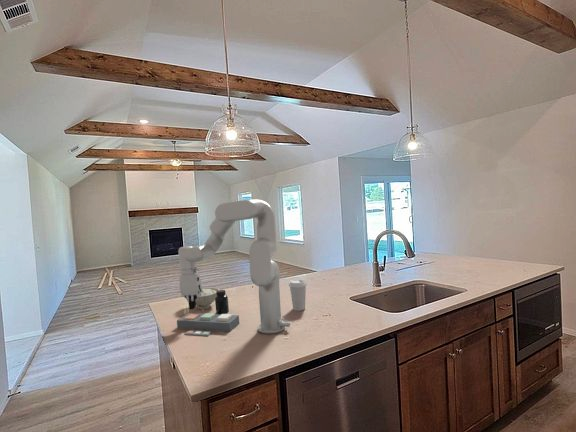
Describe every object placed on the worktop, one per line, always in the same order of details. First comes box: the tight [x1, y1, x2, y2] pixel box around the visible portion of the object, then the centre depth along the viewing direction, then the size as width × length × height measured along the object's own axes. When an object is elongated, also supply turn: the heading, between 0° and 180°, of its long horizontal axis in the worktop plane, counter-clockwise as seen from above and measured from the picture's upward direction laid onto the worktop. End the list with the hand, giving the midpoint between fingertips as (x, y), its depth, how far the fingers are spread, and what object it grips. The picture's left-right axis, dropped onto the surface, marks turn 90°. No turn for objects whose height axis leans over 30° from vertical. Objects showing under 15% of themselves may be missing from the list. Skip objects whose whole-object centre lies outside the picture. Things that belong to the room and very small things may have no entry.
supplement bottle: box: [214, 289, 230, 315], centre depth 172 cm, size 7×7×12 cm
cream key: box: [217, 313, 233, 321], centre depth 152 cm, size 5×5×3 cm
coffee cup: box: [288, 278, 307, 312], centre depth 172 cm, size 10×10×15 cm
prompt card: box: [184, 329, 213, 337], centre depth 146 cm, size 12×4×1 cm, turn 74°
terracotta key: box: [184, 314, 199, 320], centre depth 157 cm, size 5×5×3 cm
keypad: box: [176, 312, 240, 333], centre depth 155 cm, size 28×10×4 cm, turn 74°
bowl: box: [196, 286, 221, 310], centre depth 185 cm, size 19×19×10 cm
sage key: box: [200, 312, 216, 320], centre depth 155 cm, size 5×5×3 cm
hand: (192, 308), depth 157 cm, fingers closed
